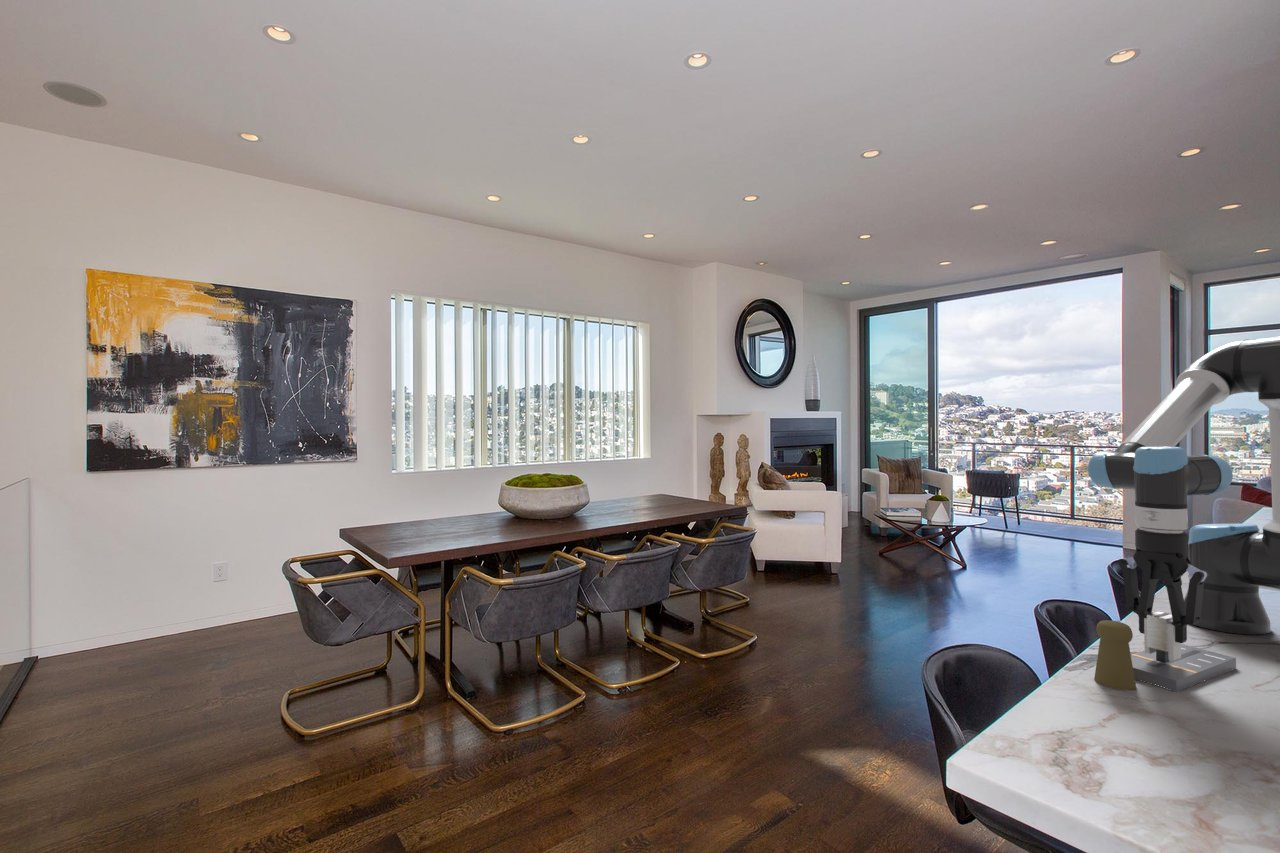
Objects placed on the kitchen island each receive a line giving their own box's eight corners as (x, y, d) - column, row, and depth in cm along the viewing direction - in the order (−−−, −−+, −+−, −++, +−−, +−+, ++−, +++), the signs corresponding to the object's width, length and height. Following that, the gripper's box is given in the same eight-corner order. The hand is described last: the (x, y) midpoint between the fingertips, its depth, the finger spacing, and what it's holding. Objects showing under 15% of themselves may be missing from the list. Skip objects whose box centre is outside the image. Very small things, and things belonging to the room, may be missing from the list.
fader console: (1172, 651, 126) (1171, 641, 126) (1236, 668, 117) (1235, 657, 117) (1111, 671, 116) (1111, 660, 116) (1176, 692, 107) (1176, 680, 107)
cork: (1091, 683, 111) (1091, 622, 111) (1096, 673, 115) (1095, 614, 115) (1134, 693, 107) (1134, 630, 107) (1137, 682, 111) (1137, 621, 111)
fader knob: (1158, 656, 117) (1158, 611, 117) (1178, 661, 114) (1177, 615, 114) (1147, 660, 115) (1146, 614, 115) (1166, 666, 112) (1166, 618, 112)
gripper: (1101, 525, 120) (1103, 645, 120) (1205, 538, 106) (1207, 674, 106) (1122, 521, 123) (1124, 638, 123) (1226, 534, 109) (1228, 666, 109)
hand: (1162, 655), depth 114 cm, fingers closed on fader knob, 3 cm apart
